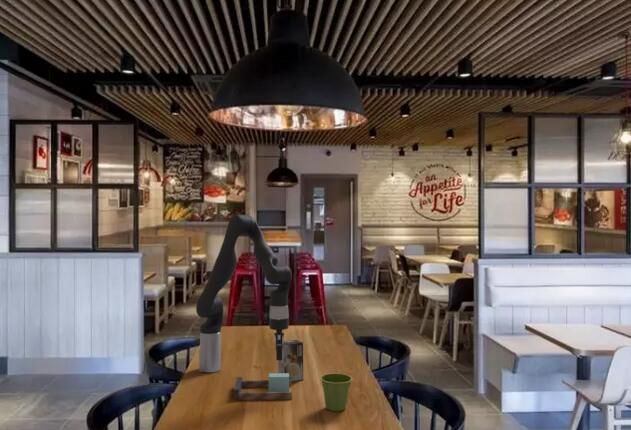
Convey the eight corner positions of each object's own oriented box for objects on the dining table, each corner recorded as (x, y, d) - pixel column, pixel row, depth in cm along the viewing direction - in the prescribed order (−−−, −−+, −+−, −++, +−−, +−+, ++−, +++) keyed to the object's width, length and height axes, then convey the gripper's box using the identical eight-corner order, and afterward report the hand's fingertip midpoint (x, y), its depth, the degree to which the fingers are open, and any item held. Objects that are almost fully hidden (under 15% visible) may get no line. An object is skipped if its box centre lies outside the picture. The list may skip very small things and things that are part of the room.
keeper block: (268, 394, 223) (268, 377, 223) (268, 390, 228) (268, 373, 228) (289, 394, 224) (289, 376, 224) (288, 390, 229) (288, 373, 229)
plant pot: (328, 416, 201) (328, 384, 200) (314, 405, 211) (314, 375, 211) (358, 411, 205) (358, 380, 205) (343, 401, 216) (343, 371, 216)
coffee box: (297, 376, 248) (297, 339, 248) (303, 380, 243) (303, 342, 242) (277, 378, 244) (278, 341, 244) (284, 383, 238) (284, 344, 238)
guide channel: (234, 400, 217) (234, 389, 217) (237, 386, 233) (237, 376, 233) (291, 399, 218) (291, 388, 218) (291, 385, 235) (291, 376, 235)
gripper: (269, 313, 233) (270, 353, 233) (269, 320, 218) (269, 362, 219) (288, 313, 233) (288, 352, 233) (288, 319, 219) (288, 362, 219)
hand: (279, 357), depth 226 cm, fingers open, 8 cm apart
